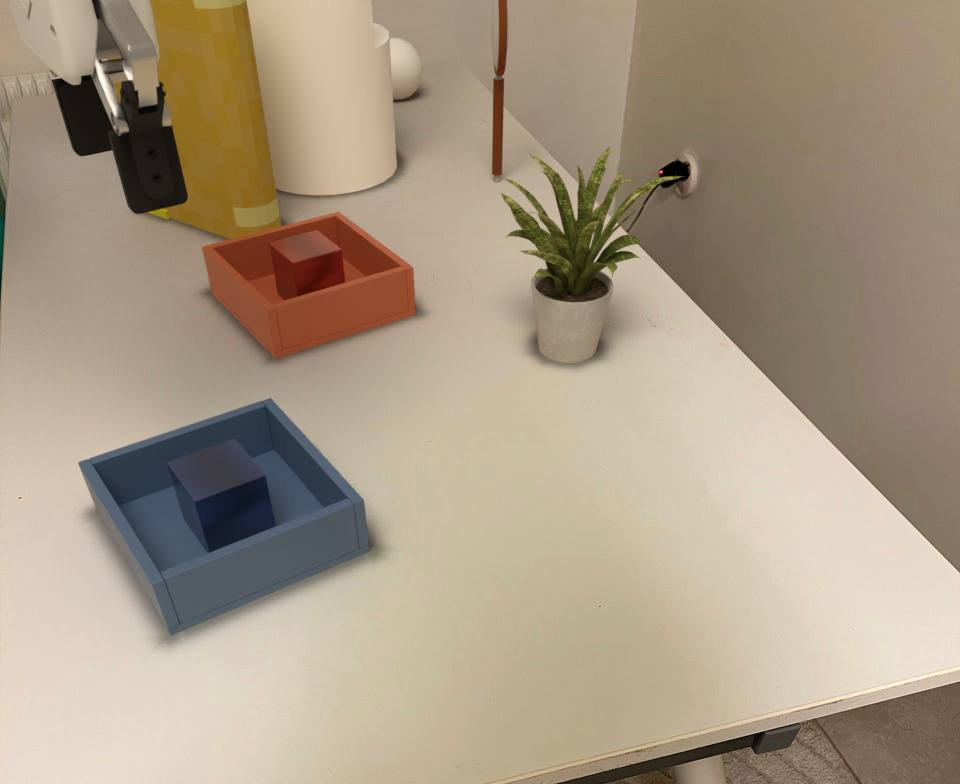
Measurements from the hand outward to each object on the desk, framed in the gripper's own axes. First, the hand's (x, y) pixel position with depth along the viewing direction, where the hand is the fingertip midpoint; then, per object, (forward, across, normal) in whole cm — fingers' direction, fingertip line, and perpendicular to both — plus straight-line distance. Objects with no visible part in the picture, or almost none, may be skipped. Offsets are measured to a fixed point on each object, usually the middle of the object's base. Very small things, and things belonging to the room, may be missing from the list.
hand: (129, 177), depth 52 cm
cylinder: (+22, -51, +36) cm, 66 cm away
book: (+22, -44, +19) cm, 53 cm away
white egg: (+22, -69, +55) cm, 91 cm away
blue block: (+21, +6, -1) cm, 22 cm away
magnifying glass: (+22, -36, +51) cm, 66 cm away
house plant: (+22, -1, +36) cm, 42 cm away
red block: (+21, -21, +19) cm, 36 cm away
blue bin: (+22, +6, -1) cm, 23 cm away
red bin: (+22, -21, +19) cm, 36 cm away
